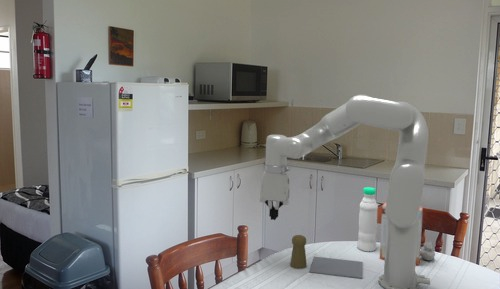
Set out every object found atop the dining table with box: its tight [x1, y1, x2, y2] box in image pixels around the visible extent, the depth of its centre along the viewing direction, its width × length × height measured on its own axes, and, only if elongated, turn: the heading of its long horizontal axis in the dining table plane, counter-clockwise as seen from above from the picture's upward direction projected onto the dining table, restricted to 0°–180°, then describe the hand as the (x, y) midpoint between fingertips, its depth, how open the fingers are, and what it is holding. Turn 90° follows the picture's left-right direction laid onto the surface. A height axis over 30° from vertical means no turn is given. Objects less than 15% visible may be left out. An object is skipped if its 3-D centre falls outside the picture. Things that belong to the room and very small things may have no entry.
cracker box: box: [379, 202, 424, 266], centre depth 159 cm, size 14×6×21 cm, turn 64°
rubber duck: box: [420, 240, 436, 261], centre depth 161 cm, size 5×7×8 cm
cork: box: [289, 234, 307, 270], centre depth 153 cm, size 6×6×11 cm
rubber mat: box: [308, 255, 364, 280], centre depth 153 cm, size 18×14×1 cm
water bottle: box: [357, 186, 379, 252], centre depth 169 cm, size 7×7×25 cm
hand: (273, 218), depth 155 cm, fingers closed
